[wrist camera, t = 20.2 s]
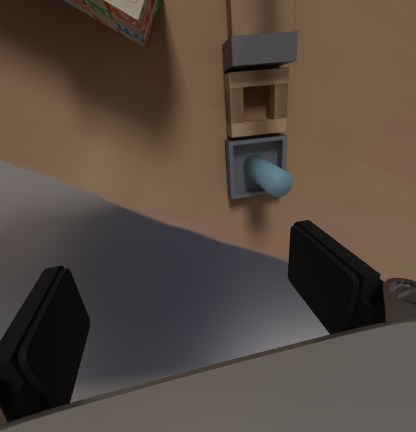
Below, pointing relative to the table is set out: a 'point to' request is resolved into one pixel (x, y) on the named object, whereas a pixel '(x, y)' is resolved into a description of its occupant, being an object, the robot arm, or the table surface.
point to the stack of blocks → (122, 16)
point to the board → (259, 16)
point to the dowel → (268, 176)
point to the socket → (275, 101)
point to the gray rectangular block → (259, 50)
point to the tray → (243, 148)
